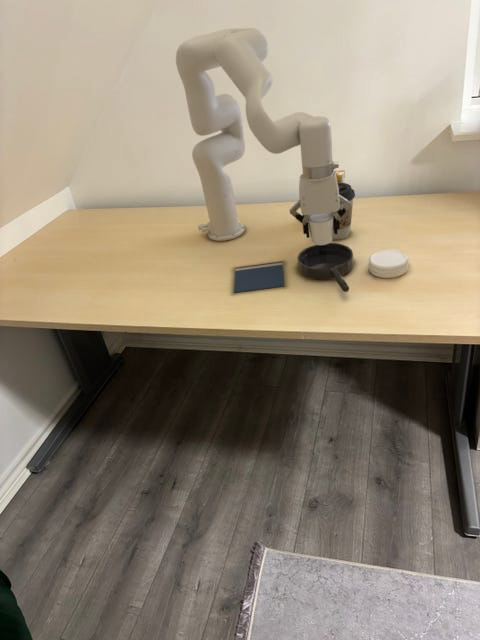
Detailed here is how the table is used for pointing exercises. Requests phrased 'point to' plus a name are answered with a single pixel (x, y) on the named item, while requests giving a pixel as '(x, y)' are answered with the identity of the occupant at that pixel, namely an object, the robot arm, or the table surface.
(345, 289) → the pan handle
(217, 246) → the table surface
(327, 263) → the pan
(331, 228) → the white cup
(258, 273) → the cloth
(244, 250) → the table surface
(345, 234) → the coffee cup
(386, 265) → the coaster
